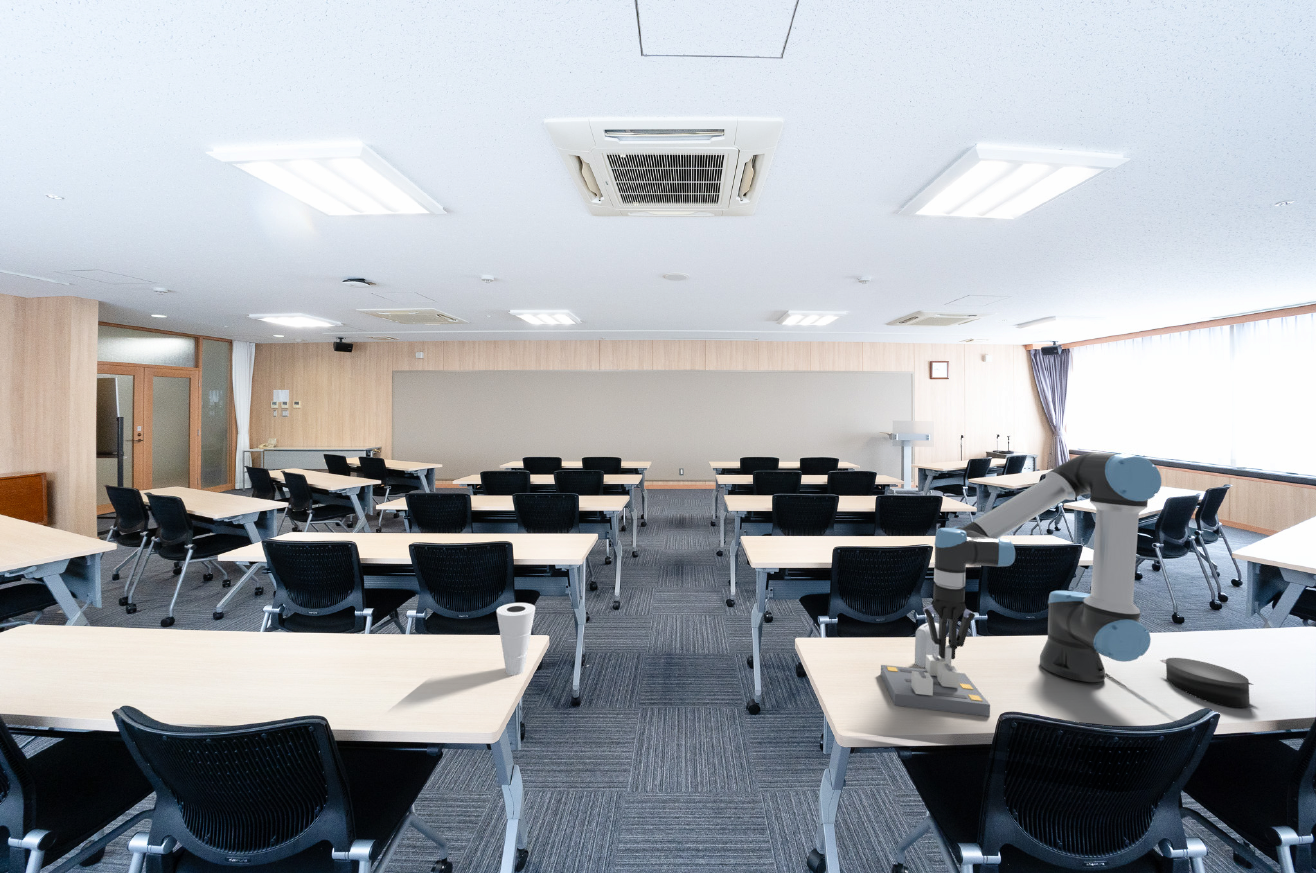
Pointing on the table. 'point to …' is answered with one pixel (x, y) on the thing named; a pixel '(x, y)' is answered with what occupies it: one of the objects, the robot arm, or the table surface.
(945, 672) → the slider mid
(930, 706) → the console
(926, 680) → the slider
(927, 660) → the slider
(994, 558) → the robot arm
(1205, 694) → the dark grey oval block
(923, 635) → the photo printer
